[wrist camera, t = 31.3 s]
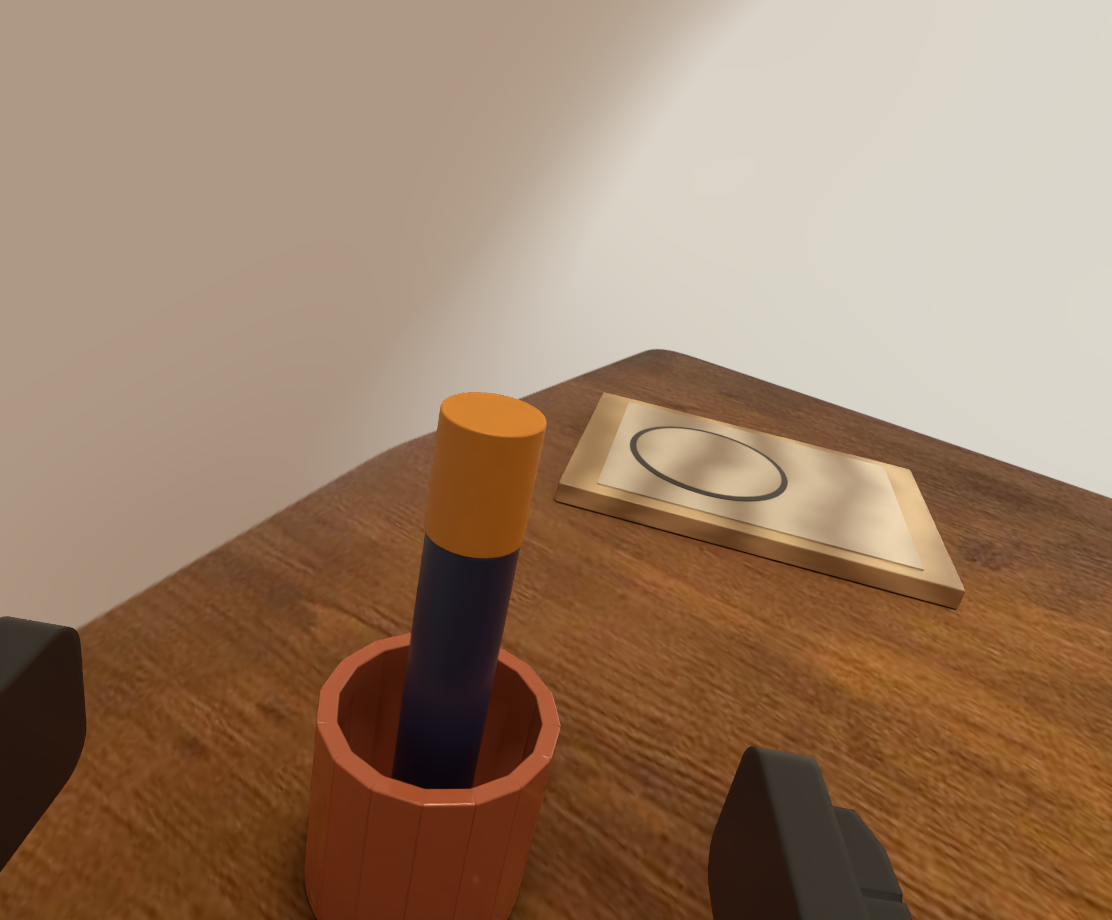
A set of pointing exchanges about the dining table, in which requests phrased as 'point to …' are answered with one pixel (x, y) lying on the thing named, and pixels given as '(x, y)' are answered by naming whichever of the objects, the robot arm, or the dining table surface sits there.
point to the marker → (465, 582)
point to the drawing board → (761, 497)
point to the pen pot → (422, 799)
